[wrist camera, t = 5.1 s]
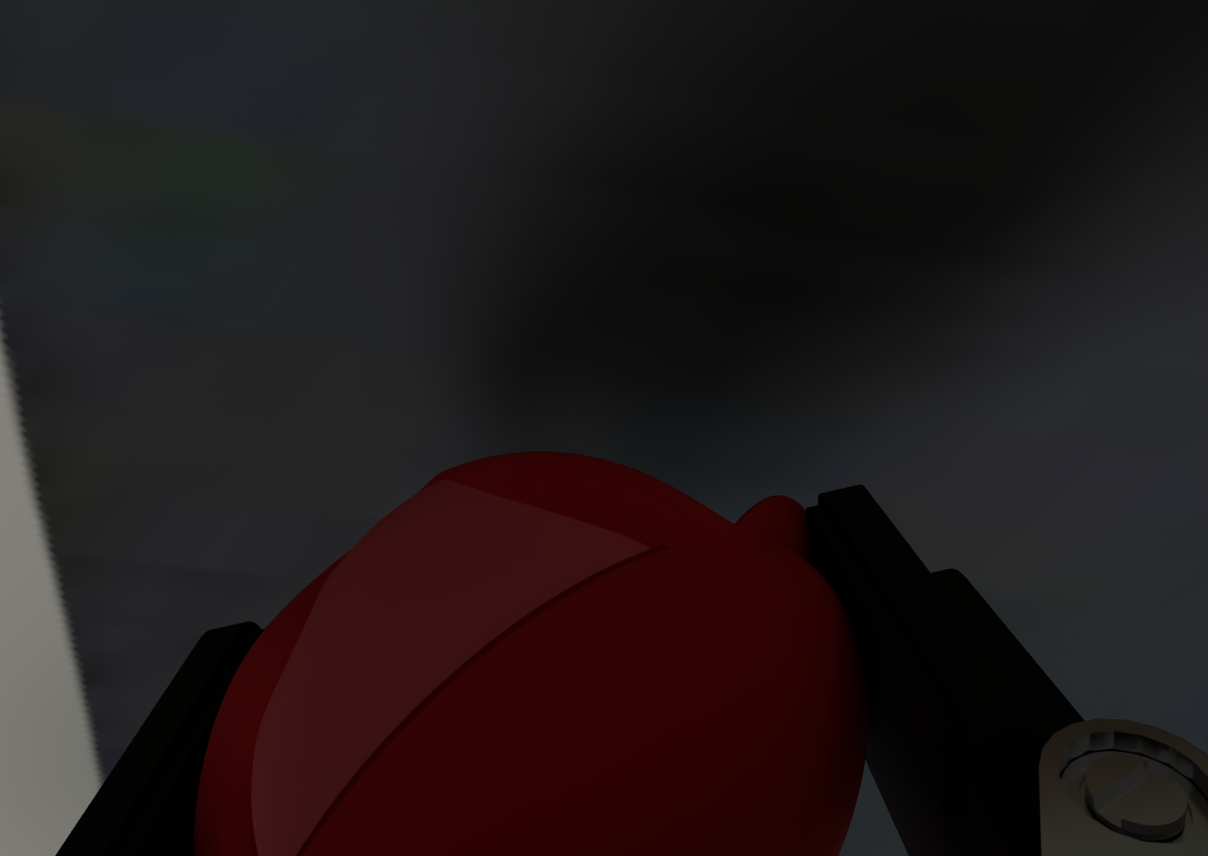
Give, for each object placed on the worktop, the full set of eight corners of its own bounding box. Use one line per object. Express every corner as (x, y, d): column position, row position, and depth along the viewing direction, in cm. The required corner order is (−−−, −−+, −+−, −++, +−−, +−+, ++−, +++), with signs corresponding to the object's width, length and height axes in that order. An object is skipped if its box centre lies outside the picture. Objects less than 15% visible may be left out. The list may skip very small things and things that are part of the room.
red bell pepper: (324, 1075, 10) (781, 1398, 7) (-86, 983, 6) (584, 1639, 3) (577, 565, 14) (917, 636, 12) (440, 318, 10) (908, 335, 8)
